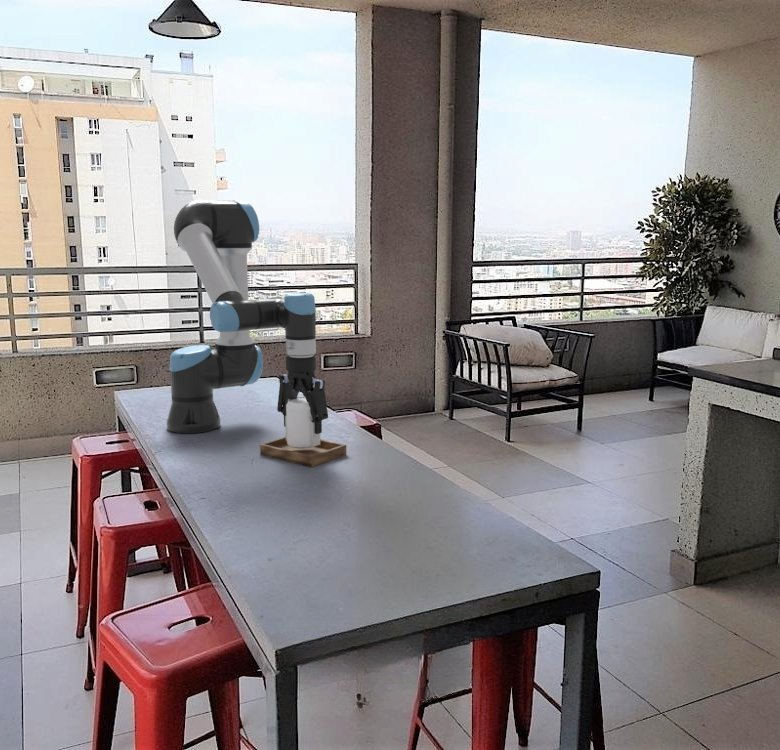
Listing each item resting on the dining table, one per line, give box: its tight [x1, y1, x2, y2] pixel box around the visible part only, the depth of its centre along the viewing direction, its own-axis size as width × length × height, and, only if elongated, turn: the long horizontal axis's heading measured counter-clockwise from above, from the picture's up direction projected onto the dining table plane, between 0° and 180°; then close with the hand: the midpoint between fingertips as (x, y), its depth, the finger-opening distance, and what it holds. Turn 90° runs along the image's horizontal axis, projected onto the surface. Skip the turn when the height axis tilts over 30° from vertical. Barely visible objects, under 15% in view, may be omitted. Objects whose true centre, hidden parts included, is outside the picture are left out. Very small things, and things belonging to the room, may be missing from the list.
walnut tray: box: [259, 435, 347, 468], centre depth 190 cm, size 18×13×3 cm
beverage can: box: [286, 396, 313, 449], centre depth 189 cm, size 8×8×12 cm
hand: (302, 442), depth 190 cm, fingers closed on beverage can, 8 cm apart
